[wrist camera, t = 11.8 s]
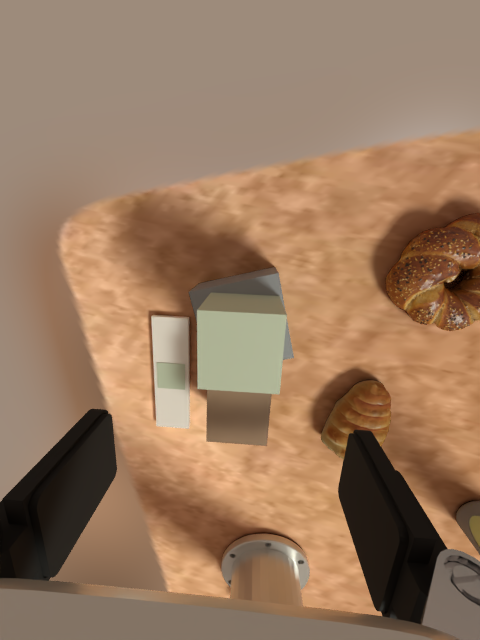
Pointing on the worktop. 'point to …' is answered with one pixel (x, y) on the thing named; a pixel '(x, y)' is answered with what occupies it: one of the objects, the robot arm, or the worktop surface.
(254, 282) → the base block
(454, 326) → the pretzel
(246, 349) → the sage block
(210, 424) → the walnut block
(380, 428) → the pastry
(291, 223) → the worktop surface
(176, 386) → the card
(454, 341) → the worktop surface
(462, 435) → the worktop surface
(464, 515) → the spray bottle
